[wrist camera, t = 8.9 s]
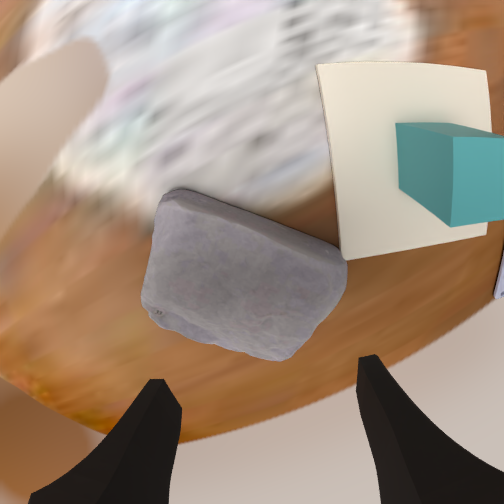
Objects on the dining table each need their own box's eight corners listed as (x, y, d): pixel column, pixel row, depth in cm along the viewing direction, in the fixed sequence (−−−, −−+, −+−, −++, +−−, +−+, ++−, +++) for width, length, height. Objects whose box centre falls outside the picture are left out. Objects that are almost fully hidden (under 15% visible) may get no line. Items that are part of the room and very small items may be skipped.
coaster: (480, 70, 13) (485, 70, 12) (481, 231, 18) (486, 234, 18) (315, 65, 14) (317, 64, 14) (339, 256, 19) (341, 261, 19)
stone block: (289, 327, 25) (353, 237, 19) (285, 377, 21) (364, 290, 15) (152, 279, 24) (175, 169, 18) (129, 325, 20) (141, 207, 14)
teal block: (449, 122, 14) (513, 138, 9) (450, 183, 16) (507, 218, 11) (395, 122, 15) (452, 136, 9) (398, 188, 17) (450, 227, 11)
